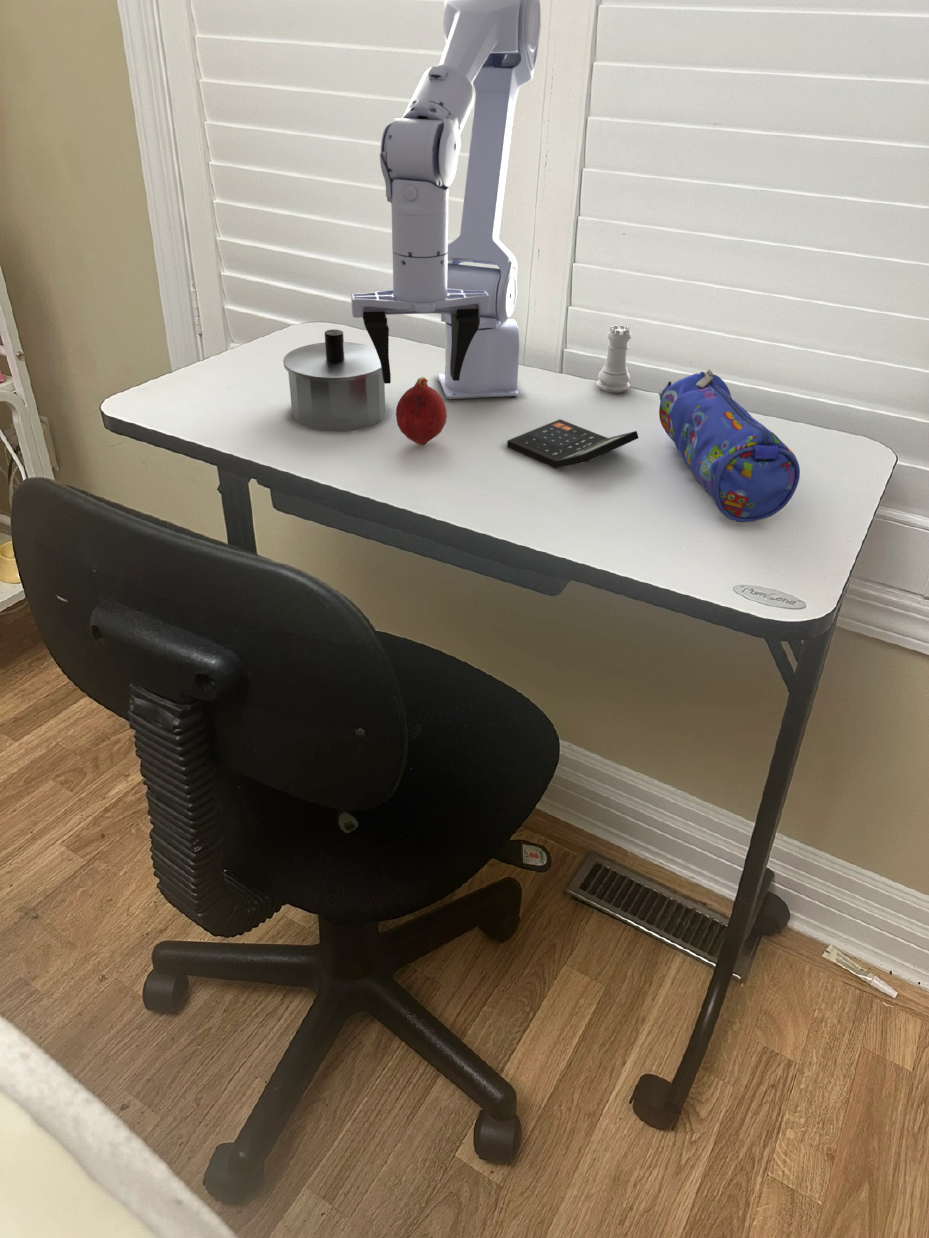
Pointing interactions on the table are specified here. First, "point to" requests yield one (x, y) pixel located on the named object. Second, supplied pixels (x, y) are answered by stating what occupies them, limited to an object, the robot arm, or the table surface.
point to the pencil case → (728, 448)
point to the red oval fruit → (421, 413)
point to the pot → (337, 403)
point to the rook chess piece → (616, 361)
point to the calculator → (566, 444)
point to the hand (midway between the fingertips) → (420, 379)
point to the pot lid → (333, 360)
